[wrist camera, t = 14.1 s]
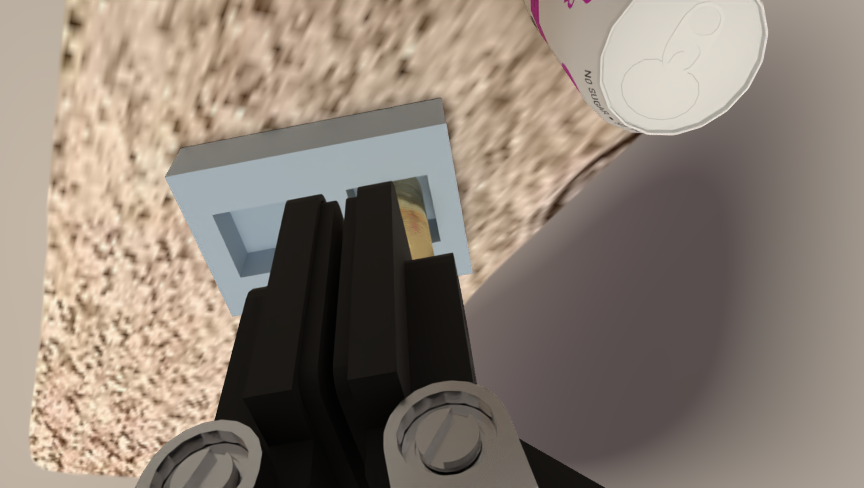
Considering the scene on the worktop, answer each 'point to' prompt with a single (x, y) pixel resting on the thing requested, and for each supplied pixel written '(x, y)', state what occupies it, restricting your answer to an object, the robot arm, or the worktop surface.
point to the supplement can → (656, 57)
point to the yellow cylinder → (414, 217)
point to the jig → (311, 185)
